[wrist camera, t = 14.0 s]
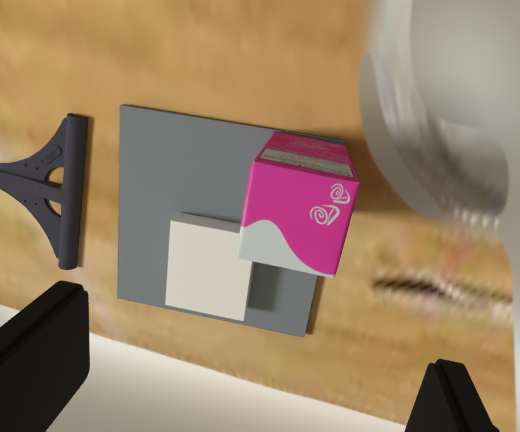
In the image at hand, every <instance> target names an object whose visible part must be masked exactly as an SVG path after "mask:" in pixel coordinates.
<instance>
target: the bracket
mask: <svg viewBox="0 0 520 432" xmlns="http://www.w3.org/2000/svg"><path fill="white" fill-rule="evenodd" d="M87 124H88V118H76V117H73V114H71V113H69V114H67V118H64V120H63V121H62V123H61V125H60V127H59V128H58V130H57V132H56V133H55V135H54V136H53V137H52V139H51V140H50V141H49V142H48V143H47V144H46V145H45V146H44V147H43V148H42V149H41V150H40V151H38V152H37V153H36V154H34V155H32V156H31V157H29V158H27V159H24V160H21V161H17V162H12V163H2V164H0V189H1V190H3V191H5V192H6V193H8V194H9V195H11V196H12V197H14V198H15V199H16V200H17V201H19V202H20V203H21V204H23V205H24V206H25V207H26V208H27V209H28V210H29V212H30V213H31V214H32V215H33V216H34V217H35V219H36V220H37V221H38V223H39V224H40V225H41V227H42V228H43V230H44V232H45V233H46V235H47V237H48V239H49V241H50V243H51V245H52V248H53V250H54V253H55V255H56V257H57V258H59V264H58V266H59V268H61V269H63V270H71V269H74V268H76V267H77V256H78V243H79V230H80V216H81V203H82V190H83V177H84V163H85V150H86V137H87ZM56 167H64V176H63V185H60V184H56V183H52V182H48V181H46V179H47V175H48V173H49V172H50V171H51V170H52V169H53V168H56ZM46 199H49V200H51V201H54V202H57V203H60V204H61V216H59V215H57V214H56V213H55V212H53V211H52V209H51V208H50V207H49V205H48V203H47V200H46Z"/></svg>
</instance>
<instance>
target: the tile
mask: <svg viewBox="0 0 520 432" xmlns="http://www.w3.org/2000/svg"><path fill="white" fill-rule="evenodd" d="M240 227H241V224H239V223H233V222H228V221H222V220H217V219H212V218H206V217H201V216H196V215H190V214H185V213H180V212H179V213H178V214H177V215H176V216H175V217H174V218H173V219H172V220H171V222H170V237H169V253H168V269H167V285H166V301H165V305H169V306H173V307H178V308H183V309H188V310H192V311H197V312H202V313H207V314H211V315H216V316H221V317H226V318H230V319H235V320H240V321H244V318H245V315H246V312H247V309H248V302H249V295H250V289H251V282H252V275H253V268H254V262H253V261H248V260H243V259H238V258H236V252H237V245H238V239H239V233H240Z"/></svg>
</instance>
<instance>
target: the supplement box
mask: <svg viewBox="0 0 520 432" xmlns="http://www.w3.org/2000/svg"><path fill="white" fill-rule="evenodd" d="M359 185H360V182H359V180H358V177H357V175H356V172H355V170H354V167H353V165H352V162H351V160H350V157H349V155H348V152H347V150H346V147H345V145H342V144H337V143H332V142H327V141H322V140H318V139H313V138H308V137H303V136H298V135H293V134H288V133H282V132H277V131H275V132H273V134H272V136H271V137H270V138H269V140H268V141H267V142H266V144H265V145H264V147H263V148H262V149H261V151H260V152H259V153H258V155H257V156H256V157H255V159H254V160H253V161H252V164H251V168H250V173H249V178H248V184H247V190H246V195H245V201H244V208H243V214H242V220H241V227H240V233H239V239H238V245H237V252H236V258H238V259H243V260H248V261H253V262H258V263H263V264H268V265H273V266H278V267H283V268H288V269H292V270H297V271H301V272H306V273H310V274H315V275H319V276H324V277H328V278H334V277H335V275H336V272H337V268H338V265H339V261H340V257H341V253H342V249H343V246H344V242H345V238H346V235H347V231H348V227H349V223H350V219H351V215H352V212H353V208H354V204H355V200H356V197H357V193H358V189H359Z"/></svg>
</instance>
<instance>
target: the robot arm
mask: <svg viewBox="0 0 520 432" xmlns="http://www.w3.org/2000/svg"><path fill="white" fill-rule="evenodd" d="M89 355H90V354H89V302H88V292H87V291H84V288H83V286H82V285H81V284H77V283H72V282H67V281H58V282H57V283H55V284H54V285H53V286H52V287H50V288H49V289H48V290H47V291H45V292H44V293H43V294H42V295H40V296H39V297H38V298H37V299H35V300H34V301H33V302H32V303H30V304H29V305H28V306H26V307H25V308H24V309H23V310H21V311H20V312H19V313H18V314H16V315H15V316H14V317H13V318H11V319H10V320H9V321H8V322H6V323H5V324H4V325H3V326H1V327H0V432H46V430H47V429H48V428H49V426H50V425H51V424H52V423H53V421H54V420H55V419H56V417H57V416H58V415H59V413H60V412H61V411H62V410H63V408H64V407H65V406H66V404H67V403H68V402H69V401H70V399H71V398H72V397H73V395H74V394H75V393H76V391H77V390H78V389H79V388H80V386H81V385H82V384H83V382H84V381H85V379H86V378H87V376H88V373H89V368H90V357H89ZM405 432H500V431H499V429H498V428H496V427H495V426H494V425H493V424H492V422H491V420H490V418H489V416H488V414H487V412H486V410H485V407H484V405H483V403H482V401H481V399H480V397H479V395H478V393H477V390H476V388H475V386H474V384H473V382H472V380H471V378H470V376H469V373H468V371H467V369H466V367H465V366H464V364H462V363H458V362H453V361H448V360H444V359H438V360H437V361H436V363H430V364H429V365H428V367H427V370H426V373H425V375H424V378H423V381H422V384H421V387H420V390H419V392H418V395H417V398H416V401H415V404H414V406H413V409H412V412H411V415H410V418H409V420H408V423H407V426H406V429H405Z"/></svg>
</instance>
